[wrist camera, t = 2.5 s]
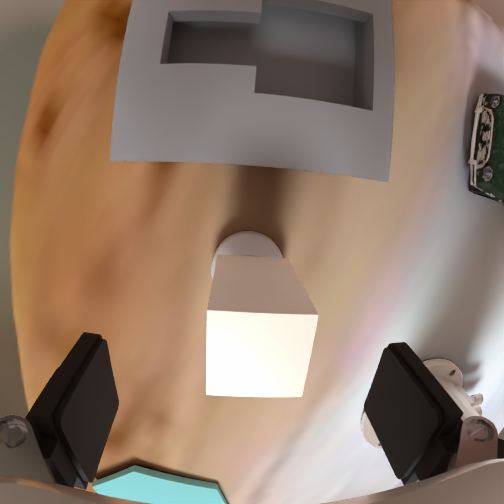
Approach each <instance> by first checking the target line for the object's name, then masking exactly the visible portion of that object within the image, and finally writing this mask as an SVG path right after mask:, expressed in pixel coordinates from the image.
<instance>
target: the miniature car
mask: <svg viewBox="0 0 504 504" xmlns="http://www.w3.org/2000/svg"><path fill="white" fill-rule="evenodd" d="M474 112H475V121H474V128H473V134H472V143H471V155H470V159H469V162H468V163H469V164H470V171H471V183H470V187H469V191H470V192H472V193H474V194H478V195H481V196H484V197H487V198H489V199H492V200H495V201H497V202H499V203H501V204H503V205H504V95H499V94H487V93H482V94H481V95H480V97H479V100H478V103H477V106H476V109H475V111H474ZM479 113H480V119H479ZM478 120H479V129H478V138H477V146H476V154H475V160H474V159H473V157H474V149H475V140H476V132H477V126H478ZM473 165H474V167H473Z"/></svg>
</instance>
